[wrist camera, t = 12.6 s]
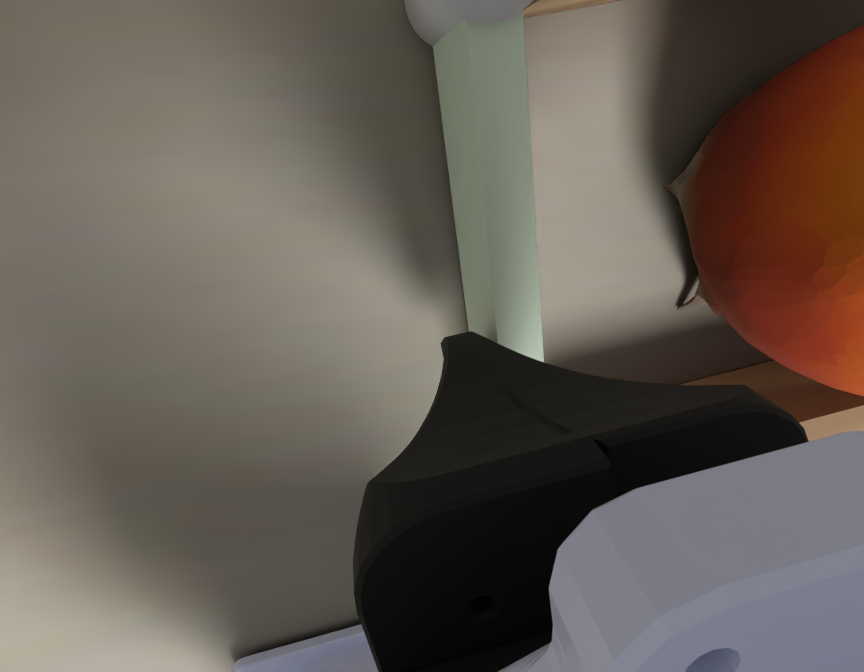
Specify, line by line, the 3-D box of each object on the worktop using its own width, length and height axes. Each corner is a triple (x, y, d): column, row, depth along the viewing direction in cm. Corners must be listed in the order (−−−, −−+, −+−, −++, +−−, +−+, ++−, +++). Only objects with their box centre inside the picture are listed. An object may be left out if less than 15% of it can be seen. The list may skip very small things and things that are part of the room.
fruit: (556, 180, 12) (1173, 37, 5) (700, 51, 15) (1180, -133, 8) (655, 424, 15) (1104, 524, 8) (754, 274, 18) (1129, 263, 12)
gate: (396, -52, 10) (420, -130, 7) (489, -65, 10) (550, -145, 7) (467, 451, 16) (499, 532, 12) (528, 437, 16) (574, 513, 13)
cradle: (910, 354, 17) (1061, 413, 14) (549, 448, 16) (608, 540, 13) (1032, -135, 12) (1335, -250, 8) (500, -43, 11) (581, -129, 7)
